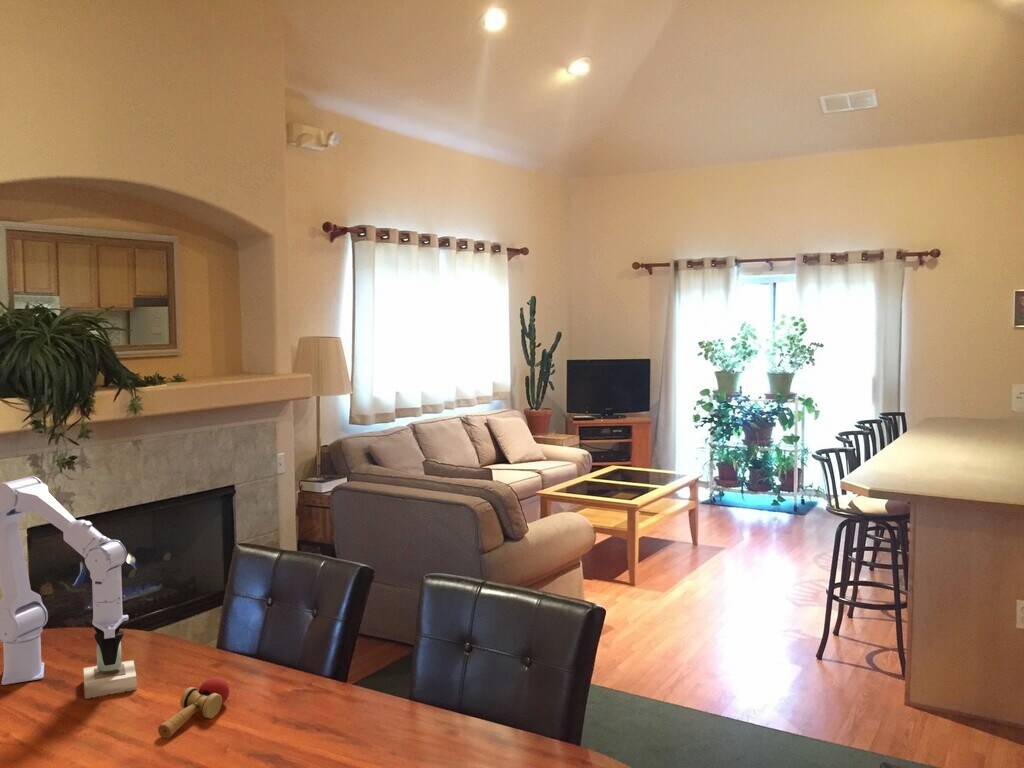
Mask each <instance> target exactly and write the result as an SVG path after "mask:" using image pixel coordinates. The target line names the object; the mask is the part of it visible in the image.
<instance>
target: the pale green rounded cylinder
mask: <svg viewBox="0 0 1024 768" xmlns="http://www.w3.org/2000/svg"><path fill="white" fill-rule="evenodd" d="M122 662H123V661H122V641H120V644H119V647H118V652H117V658H116V663H115V664H113V665H107V666H105V665H104V662H103V659H102V654H101V650H100V647H99V645H98V643H97V644H96V666H97V669H98V670H99V671H111V670H115V669H118V668H120V667H121V666H122Z"/></svg>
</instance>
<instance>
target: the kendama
mask: <svg viewBox="0 0 1024 768" xmlns="http://www.w3.org/2000/svg"><path fill="white" fill-rule="evenodd" d="M229 695H230V686H229V684H228V682H227V681H226V680H225V679H223V678H222V677H219V676H211V677H209V678H207V679H205V681H203V682H202V683H201V685H200V686H199V688H197V687H195V686H194V687H193V686H190V687H188V688H186V689H185V690H184V692H183V693H182V695H181V698H180V708H181V710H180V711H179V712H176V714H174V715H173V716H172V717H170V718H169V719H167V720H166V721H165V722H162V724H159V726H158V727H157V732H158V735H159V736H160V737H161V738H162V739H170V738H171V737H172V736H173V735H174V734H175V733H176V732H177V731H178V730H179V729H180V728H182V726H183V725H184V724H185V723H186V722H187V721H188V720H189V719H190V718H191V717H192V716H193V715H194V714H195V712H197V710H200V711H201V712H202V716H203V717H204V718H207V719H209V720H210V718H211V719H212V717H213V716H214V717H216V716H217V715H218V714H219V712H220V710H221V708H222V705H223V704H224V703H225V702H226V701H227V700H228V698H229ZM215 715H216V716H215ZM214 717H213V718H214Z"/></svg>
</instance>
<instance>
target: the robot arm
mask: <svg viewBox="0 0 1024 768" xmlns="http://www.w3.org/2000/svg"><path fill="white" fill-rule="evenodd" d="M28 512H30V513H31V512H32V513H33V512H36V513H37V514H38V515H39V516H41V517H43V519H45V520H47V521H48V522H49V523H50V524H51V525H53V526H54V527H56V528H57V529H59V530H60V531H61V532H63V541H64V542H65V543H66V544H68V545H69V547H72V548H73V549H74V550H75V551H76V552H77V553H79V554H80V556H82V557H83V558H84V564H85V566H86V568H87V570H88V571H89V577H90V579H91V582H92V583H91V584H92V585H91V587H92V611H93V612H92V614H93V617H92V625H93V629H94V631H95V633H94V637H93V638H94V639H95V642H96V643H97V644H98V645H99V647H100V650H101V654H102V659H103V662H104V665H105V666H107V665H113V664H115V663H116V658H117V652H118V647H119V644H120V642H122V639H123V637H124V634H125V633H124V631H123V630H121V631H120V629H121V628H122V625H123V622H125V621H128V620H129V615H128V614H123V588H122V586H123V585H122V582H123V581H122V565H123V564H124V563H125V562H126V561H127V560H126V559H127V555H128V554H127V553H128V552H127V549H126V547H125V545H124V544H123V543H122V542H121V541H120V540H118V539H110V538H109V537H107V536H105V535H103V534H102V533H101V532H100V531H99V530H98V529H97V528H96V527H94V526H93V523H92V522H91V521H90V520H86V519H76V518H75V517H74V516H73V515H72V514H71V513H70V512H69V511H68V510H67V509H65V507H64V506H63V505H62V504H61V503H60V502H59V501H58V500H56V499H55V497H53V495H51V493H50V492H49V487H48V485H47V484H45V483H44V482H43V481H42V480H41V479H40V478H38V477H36V476H34V475H29V476H25V477H23V478H19V479H16V480H14V479H13V480H10V481H9V480H8V481H6V482H5V481H4V482H0V589H1V593H2V598H1V600H0V642H1V643H3V644H2V647H3V673H2V678H1V685H2V686H4V685H5V686H6V685H10V684H17V683H23V682H29V681H36V680H37V681H38V680H42V679H44V675H45V662H42V647H41V646H42V645H41V644H42V643H41V642H42V641H41V633H43V627H45V625H46V624H47V623H48V619H49V614H48V610H47V608H46V606H45V605H44V603H43V600H42V596H41V595H40V594H39V593H38V592H35V591H33V590H32V589H31V583H30V578H29V573H28V567H27V563H26V557H25V553H24V546H23V541H22V535H21V532H20V526H19V525H20V524H19V521H20V519H21V518H22V517H23V516H24V515H25V513H28Z"/></svg>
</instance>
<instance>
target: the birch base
mask: <svg viewBox="0 0 1024 768" xmlns="http://www.w3.org/2000/svg"><path fill="white" fill-rule="evenodd" d="M137 680H138V679H137V673H136V666H135V661H134V659H132V660H131V659H130V660H125V661H122V666H121V667H120V668H118V669H115V670H111V671H99V670H98V669H97V665H94V666H87V667H83V688H84V689H83V690H84V699H85V698H86V699H92V698H97V696H98V697H103V696H109V695H108V694H110V695H114V694H115V693H116V694H122V693H126V692H125V691H127V692H131V691H132V690H133V691H136V690H138V687H137V686H138V684H137V683H138V681H137ZM91 697H92V698H91Z"/></svg>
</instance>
